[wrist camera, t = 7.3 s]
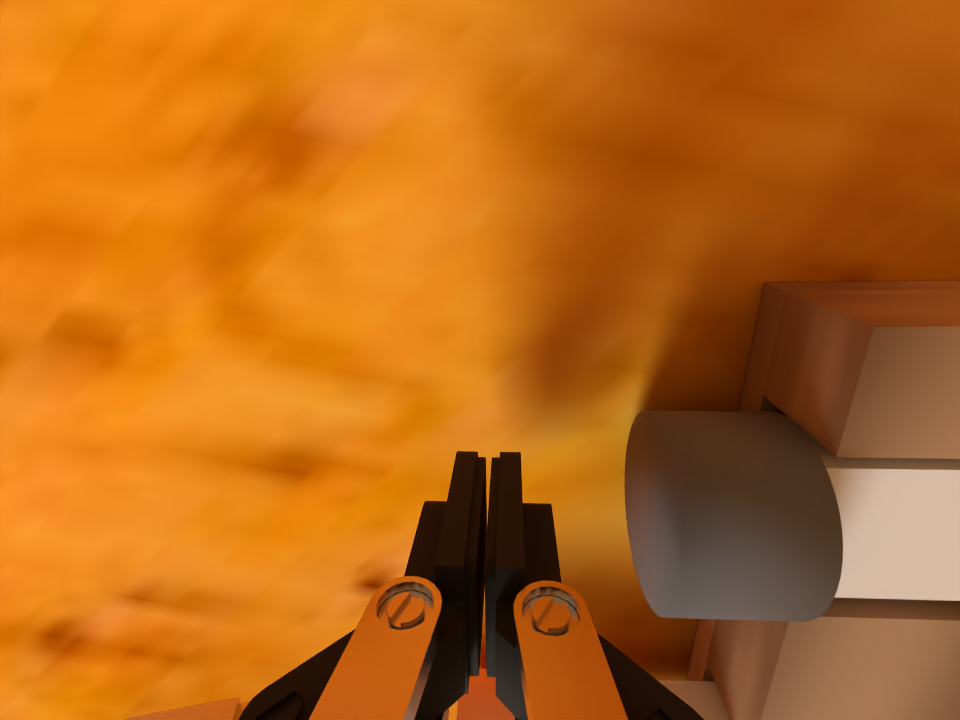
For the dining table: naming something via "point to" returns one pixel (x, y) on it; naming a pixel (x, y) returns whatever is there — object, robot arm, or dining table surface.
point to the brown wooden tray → (853, 434)
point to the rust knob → (488, 716)
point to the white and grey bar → (781, 519)
